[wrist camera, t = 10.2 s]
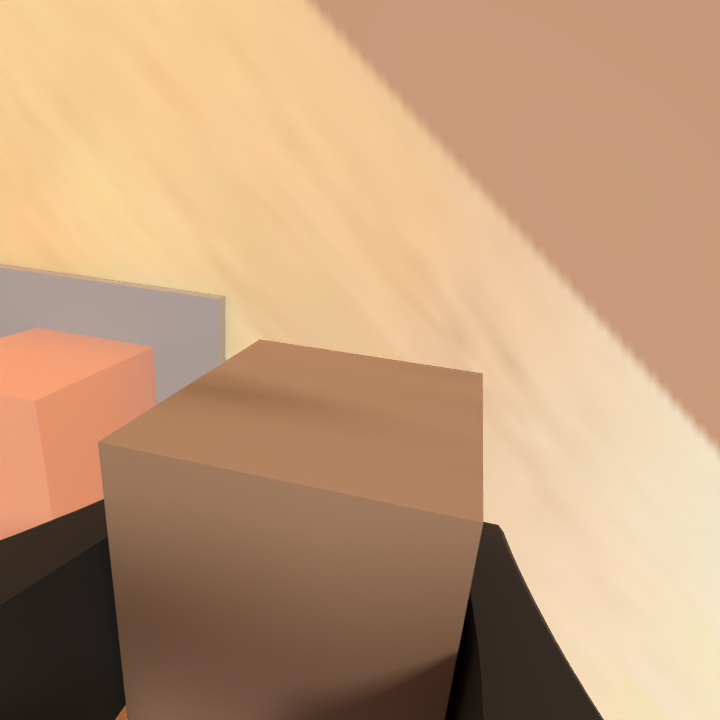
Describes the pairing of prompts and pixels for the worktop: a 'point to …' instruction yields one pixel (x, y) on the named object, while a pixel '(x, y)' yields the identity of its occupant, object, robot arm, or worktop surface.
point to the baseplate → (120, 318)
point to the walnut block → (296, 538)
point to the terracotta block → (62, 419)
